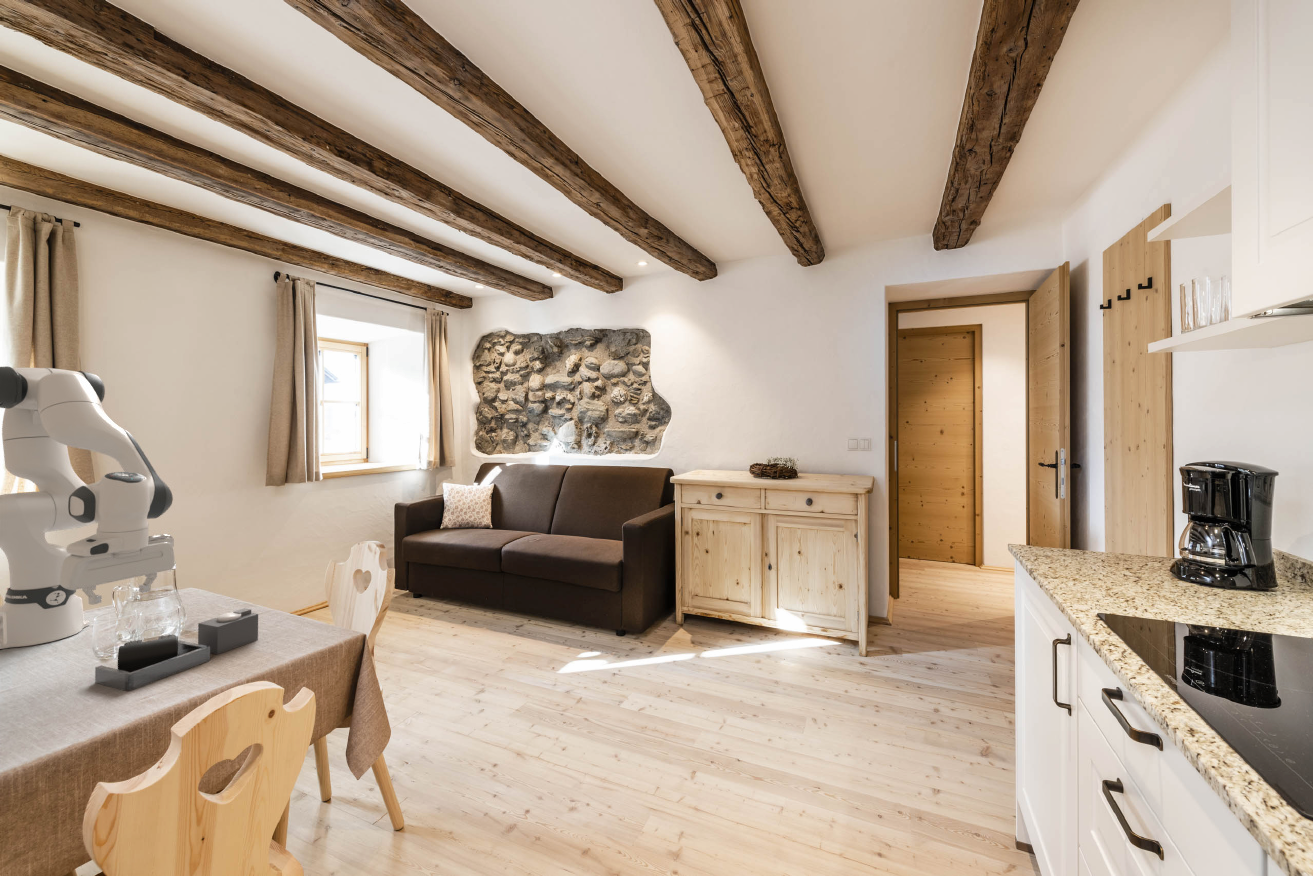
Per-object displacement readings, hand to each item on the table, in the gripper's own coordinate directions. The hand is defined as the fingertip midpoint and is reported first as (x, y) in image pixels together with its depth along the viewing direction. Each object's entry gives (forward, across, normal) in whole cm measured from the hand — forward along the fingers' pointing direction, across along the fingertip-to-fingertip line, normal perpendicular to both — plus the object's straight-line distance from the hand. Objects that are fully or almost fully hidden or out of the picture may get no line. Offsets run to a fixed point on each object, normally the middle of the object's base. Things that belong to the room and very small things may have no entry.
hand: (120, 597), depth 126 cm
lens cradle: (+15, 0, +13) cm, 20 cm away
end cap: (+16, 0, +10) cm, 19 cm away
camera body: (+15, -16, +13) cm, 26 cm away
